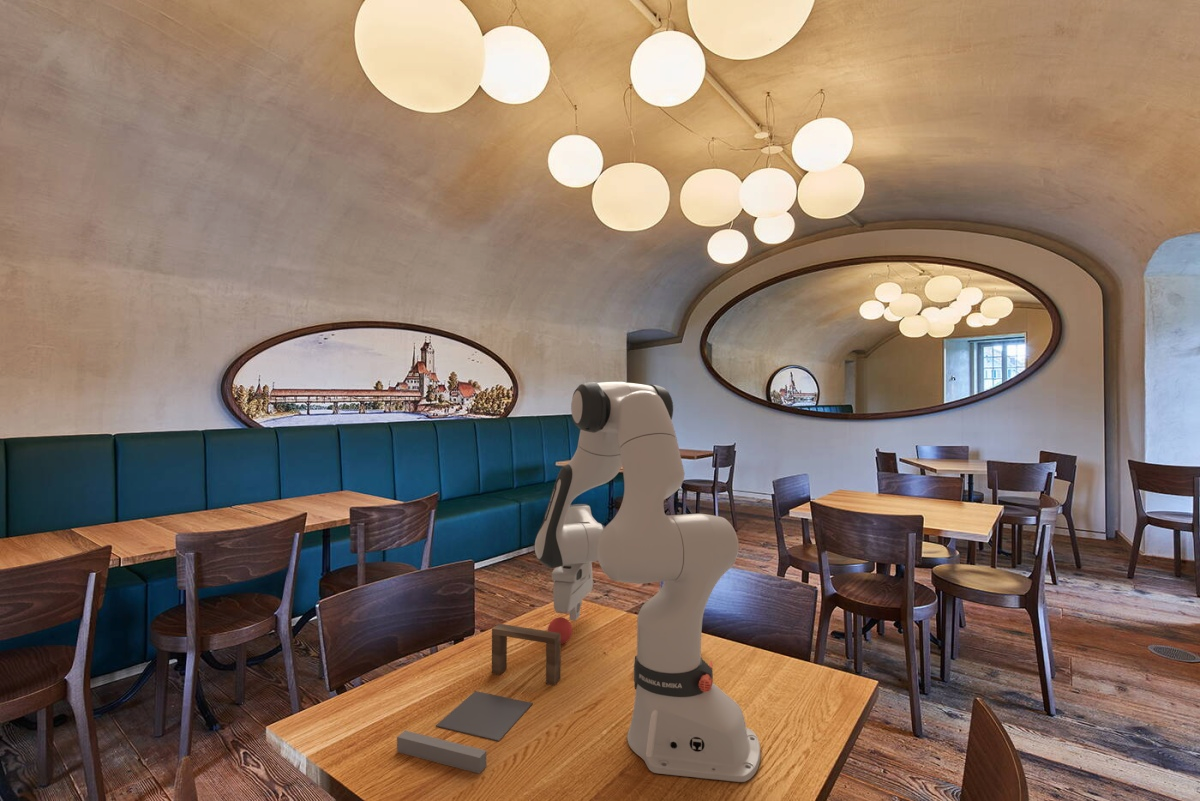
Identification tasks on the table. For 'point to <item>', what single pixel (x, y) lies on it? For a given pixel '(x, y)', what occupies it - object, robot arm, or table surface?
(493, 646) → the bridge
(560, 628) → the ball
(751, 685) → the table surface
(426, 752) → the wall
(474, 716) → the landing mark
